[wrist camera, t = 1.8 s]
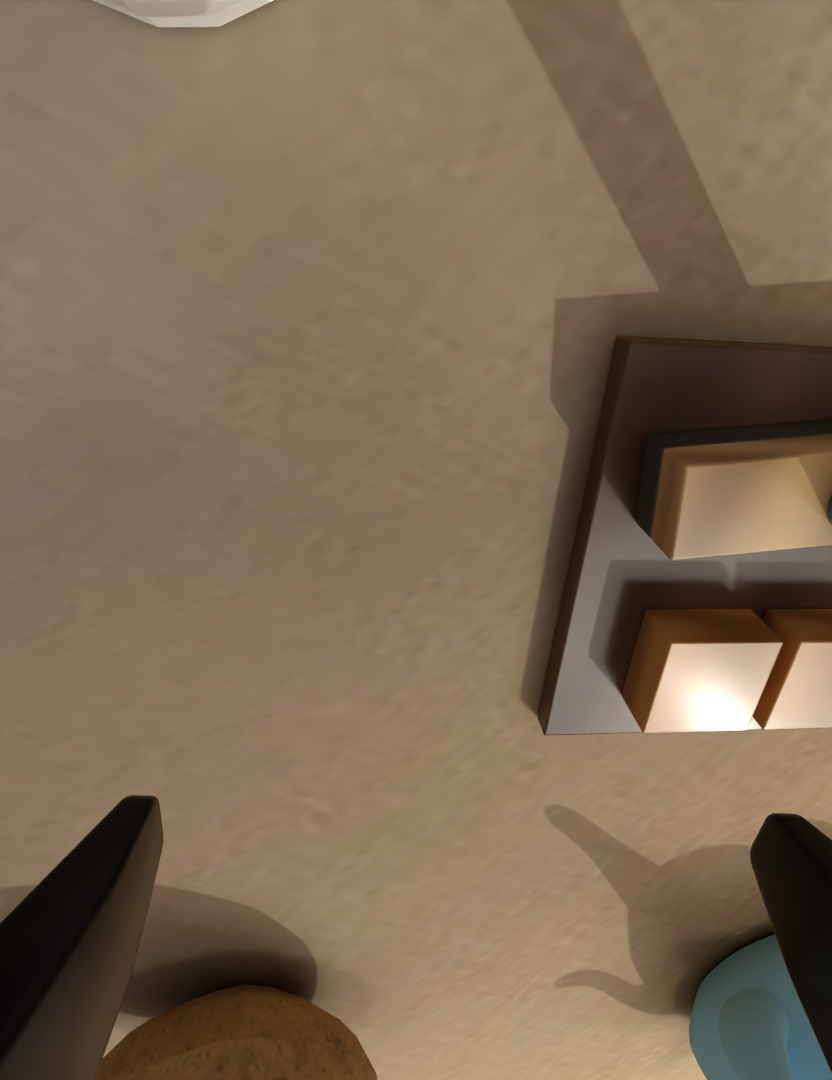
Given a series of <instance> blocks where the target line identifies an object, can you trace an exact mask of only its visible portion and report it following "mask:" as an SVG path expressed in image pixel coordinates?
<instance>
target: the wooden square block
mask: <svg viewBox="0 0 832 1080" xmlns="http://www.w3.org/2000/svg"><path fill="white" fill-rule="evenodd" d="M762 621H763V622H764V623H765V624H766V625H767V626H768V627H769V628H770V629H771V630H772V631H773V632H774V633H775V634H776V635H777V636H778V637H779V638H780V639H781V640H782V641H783V644H782V647H781V649H780V651H779V654H778V656H777V659H776V661H775V664H774V666H773V668H772V671H771V673H770V676H769V678H768V680H767V683H766V685H765V688H764V690H763V692H762V695H761V697H760V700H759V702H758V704H757V707H756V709H755V712H754V714H753V716H752V717H753V718H754V719H755V720H756V722H757V723H758V724H759V725H760V727H761V728H762V729H764V730H772V729H809V728H832V609H767V610H766V612H765V614H764V617H763V619H762Z"/></svg>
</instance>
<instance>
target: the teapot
mask: <svg viewBox="0 0 832 1080" xmlns="http://www.w3.org/2000/svg"><path fill="white" fill-rule="evenodd" d="M689 1037H690V1044H691V1048H692V1051H693V1053H694V1055H695V1058H696V1060H697V1062H698V1064H699V1066H700V1068H701V1070H702V1072H703V1073H704V1075H705V1077H706V1078H707V1080H832V1073H831V1071H830V1068H829V1066H828V1064H827V1061H826V1059H825V1057H824V1054H823V1052H822V1050H821V1048H820V1045H819V1043H818V1041H817V1038H816V1036H815V1034H814V1032H813V1029H812V1027H811V1025H810V1022H809V1020H808V1018H807V1015H806V1013H805V1011H804V1009H803V1006H802V1004H801V1002H800V999H799V997H798V995H797V993H796V990H795V988H794V985H793V983H792V980H791V978H790V976H789V973H788V970H787V968H786V965H785V962H784V960H783V957H782V954H781V951H780V948H779V945H778V942H777V939H776V936H775V935H772V936H769V937H766V938H764V939H761V940H759V941H757V942H754V943H752V944H750V945H748V946H746V947H744V948H742V949H740V950H739V951H737V952H735V953H734V954H732V955H731V956H729V957H728V958H726V959H725V960H724V961H722V962H721V963H720V964H718V965H717V966H716V967H715V968H714V969H713V970H712V971H711V972H710V973H709V974H708V975H707V976H706V977H705V979H704V980H703V982H702V983H701V985H700V987H699V989H698V991H697V995H696V999H695V1002H694V1006H693V1010H692V1014H691V1020H690V1026H689Z"/></svg>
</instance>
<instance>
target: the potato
mask: <svg viewBox="0 0 832 1080" xmlns="http://www.w3.org/2000/svg"><path fill="white" fill-rule="evenodd" d="M95 1080H377V1075H376V1072H375V1070H374V1068H373V1067H372V1065H371V1063H370V1061H369V1059H368V1057H367V1055H366V1053H365V1051H364V1050H363V1048H362V1046H361V1044H360V1042H359V1040H358V1038H357V1037H356V1036H355V1035H354V1034H353V1033H352V1032H351V1031H350V1029H349V1028H348V1027H347V1026H346V1025H345V1024H344V1023H343V1022H342V1021H341V1020H339V1019H338V1018H336V1017H334V1016H333V1015H331V1014H329V1013H328V1012H326V1011H324V1010H323V1009H321V1008H319V1007H318V1006H316V1005H314V1004H312V1003H311V1002H309V1001H307V1000H305V999H303V998H302V997H300V996H297V995H294V994H291V993H288V992H285V991H282V990H279V989H276V988H273V987H264V986H255V985H245V984H243V985H239V986H235V987H231V988H227V989H223V990H219V991H214V992H211V993H209V994H206V995H204V996H201V997H198V998H196V999H193V1000H191V1001H188V1002H186V1003H183V1004H181V1005H179V1006H176V1007H174V1008H172V1009H170V1010H168V1011H165V1012H163V1013H161V1014H159V1015H156V1016H154V1017H153V1018H151V1019H150V1020H148V1021H147V1022H145V1023H144V1024H142V1025H140V1026H139V1027H137V1028H136V1029H134V1030H133V1031H131V1032H130V1033H129V1034H128V1035H127V1036H126V1037H125V1038H124V1039H122V1040H121V1041H120V1042H119V1043H118V1044H117V1045H116V1046H115V1047H114V1048H113V1049H112V1050H111V1051H110V1052H109V1053H108V1054H107V1055H106V1056H105V1057H104V1058H103V1059H102V1061H101V1064H100V1067H99V1069H98V1072H97V1075H96V1078H95Z"/></svg>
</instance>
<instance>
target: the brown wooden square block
mask: <svg viewBox="0 0 832 1080" xmlns="http://www.w3.org/2000/svg"><path fill="white" fill-rule="evenodd" d="M782 644H783V641H782V640H781V639H780V638H779V637H778V636H777V635H776V634H775V633H774V632H773V631H772V630H771V629H770V628H769V627H768V626H767V625H766V624H765V623H764V622H763V621H762V620H761V619H760V618H759V617H758V616H757V615H756V614H755V613H754V612H753V611H752V610H751V609H646V610H645V614H644V617H643V621H642V624H641V628H640V632H639V635H638V639H637V642H636V646H635V649H634V653H633V656H632V660H631V663H630V667H629V670H628V674H627V677H626V681H625V685H624V688H623V692H622V697H623V699H624V701H625V703H626V705H627V706H628V708H629V710H630V712H631V713H632V715H633V717H634V719H635V720H636V722H637V724H638V726H639V727H640V729H641V731H642V733H674V732H710V731H746V730H747V729H748V726H749V724H750V721H751V719H752V716H753V714H754V712H755V709H756V707H757V704H758V702H759V700H760V697H761V695H762V692H763V690H764V688H765V685H766V683H767V680H768V678H769V676H770V673H771V671H772V668H773V666H774V664H775V661H776V659H777V656H778V654H779V651H780V649H781V647H782Z"/></svg>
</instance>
